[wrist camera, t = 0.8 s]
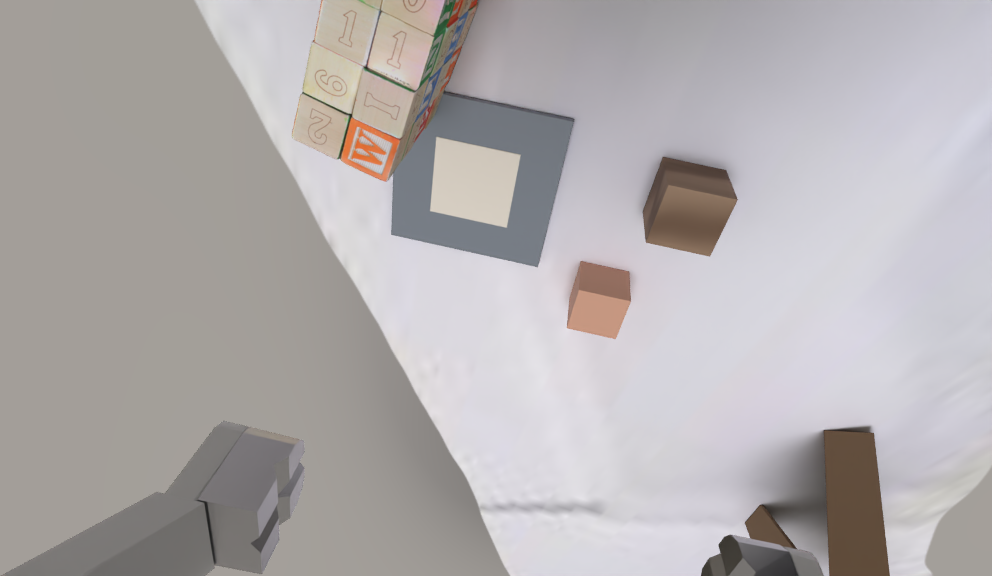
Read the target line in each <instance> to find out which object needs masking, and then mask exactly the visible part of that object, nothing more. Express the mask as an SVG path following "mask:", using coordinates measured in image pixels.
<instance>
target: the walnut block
mask: <svg viewBox="0 0 992 576" xmlns="http://www.w3.org/2000/svg"><path fill="white" fill-rule="evenodd" d="M737 200H738V199H737V197H736V194H735V192H734V189H733V187H732V184H731V182H730V179H729V177H728V174H727V172H726V170H722V169H718V168H713V167H708V166H703V165H699V164H694V163H689V162H685V161H680V160H675V159H670V158H666V157H663V158H662V161H661V164H660V166H659V169H658V172H657V174H656V177H655V180H654V183H653V185H652V188H651V191H650V193H649V196H648V199H647V201H646V204H645V207H644V210H643V219H644V229H645V239H646V243H651V244H655V245H660V246H664V247H669V248H673V249H678V250H683V251H687V252H692V253H696V254H701V255H705V256H710V255H711V253H712V251H713V249H714V247H715V245H716V243H717V241H718V239H719V237H720V235H721V233H722V231H723V229H724V227H725V225H726V223H727V221H728V219H729V217H730V214H731V212H732V210H733V208H734V206H735V204H736V202H737Z"/></svg>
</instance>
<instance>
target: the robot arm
mask: <svg viewBox="0 0 992 576" xmlns="http://www.w3.org/2000/svg"><path fill="white" fill-rule="evenodd" d="M303 454H304V441H303V440H300V439H296V438H292V437H288V436H284V435H280V434H276V433H272V432H268V431H264V430H260V429H256V428H252V427H248V426H244V425H240V424H235V423H231V422H227V421H223V422H221V423H220V424H219V425H218V426H216V427H215V428H214V429H213V431H212V432H211V433H210V434H209V436H208V437H207V438H206V440H205V441H204V442H203V444H202V445H201V446H200V448H199V449H198V450H197V452H196V453H195V454H194V456H193V457H192V458H191V460H190V461H189V462H188V463H187V465H186V466H185V467H184V469H183V470H182V471H181V473H180V474H179V475H178V477H177V478H176V479H175V481H174V482H173V483H172V485H171V486H170V487H169V489H168V490H167V491H166V493H159V492H156V493H154V494H152V495H150V496H148V497H146V498H144V499H143V500H141V501H139V502H137V503H135V504H134V505H131V506H130V507H128V508H126V509H124V510H122V511H120V512H119V513H117V514H115V515H113V516H111V517H109V518H107V519H105V520H103V521H102V522H100V523H98V524H96V525H94V526H92V527H90V528H89V529H87V530H85V531H83V532H81V533H79V534H78V535H76V536H74V537H72V538H70V539H68V540H66V541H64V542H63V543H61V544H59V545H57V546H55V547H54V548H51V549H50V550H48V551H46V552H44V553H42V554H40V555H38V556H37V557H35V558H33V559H31V560H29V561H28V562H25V563H24V564H22V565H20V566H18V567H16V568H14V569H12V570H11V571H9V572H7V573H5V574H3V575H1V576H205V575H207V574H208V573H209V572H210V571H212V570H213V569H214V565H216V566H222V567H227V568H232V569H237V570H242V571H248V572H253V573H259V574H262V573H263V571H264V569H265V567H266V565H267V563H268V561H269V559H270V557H271V555H272V553H273V551H274V549H275V547H276V545H277V543H278V541H279V525H280V524H281V523H283V522H285V521H286V520H288V519H289V518H290V517H291V515H292V513H293V511H294V509H295V506H296V505H297V502H298V499H299V496H300V493H301V490H302V487H303V481H304V467H303V466H302V464H301V463H300V459H301V458H302V456H303ZM719 549H720V553H721V554H718V555H716V556H713V557H711V558H709V559H708V560H707V562H706V564H705V565H704V567H703V568H702V573H701V576H824V575H823V573H822V570H821V568H820V566H819V563H818V561H817V559H816V558H815V557H814V556H813V554H812V553H810V552H807V551H803V550H798V549H794V548H789V547H784V546H781V545H778V544H774V543H769V542H764V541H759V540H754V539H750V538H745V537H740V536H735V535H728V536H726V537H724V538H723V539H722V541H721V542H720V543H719Z"/></svg>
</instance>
